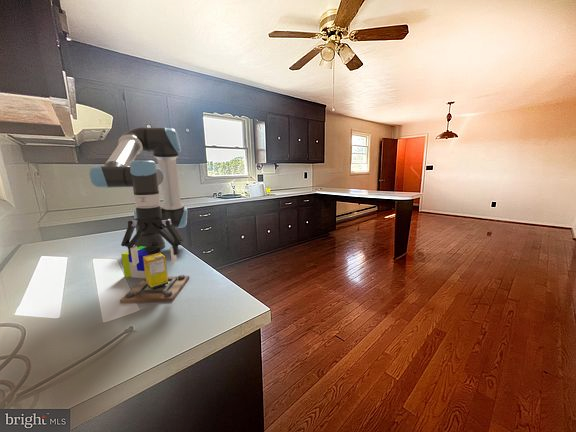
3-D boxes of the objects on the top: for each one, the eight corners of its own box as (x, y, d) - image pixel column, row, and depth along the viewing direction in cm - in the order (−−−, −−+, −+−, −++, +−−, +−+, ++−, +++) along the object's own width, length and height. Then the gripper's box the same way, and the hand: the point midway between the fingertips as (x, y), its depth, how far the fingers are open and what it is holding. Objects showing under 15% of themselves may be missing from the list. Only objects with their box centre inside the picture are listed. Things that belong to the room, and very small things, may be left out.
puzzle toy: (145, 278, 98) (142, 255, 96) (124, 276, 100) (121, 253, 98) (162, 268, 107) (160, 247, 105) (143, 266, 109) (140, 246, 107)
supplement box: (163, 278, 92) (160, 252, 90) (168, 284, 88) (165, 256, 86) (146, 284, 88) (142, 256, 86) (150, 289, 84) (147, 260, 82)
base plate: (146, 279, 96) (145, 274, 96) (189, 278, 98) (188, 273, 97) (120, 303, 80) (119, 297, 79) (172, 301, 81) (171, 295, 80)
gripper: (102, 208, 78) (112, 268, 82) (181, 207, 80) (186, 266, 84) (117, 204, 85) (125, 260, 90) (188, 204, 87) (193, 258, 91)
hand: (155, 263), depth 87 cm, fingers open, 13 cm apart
